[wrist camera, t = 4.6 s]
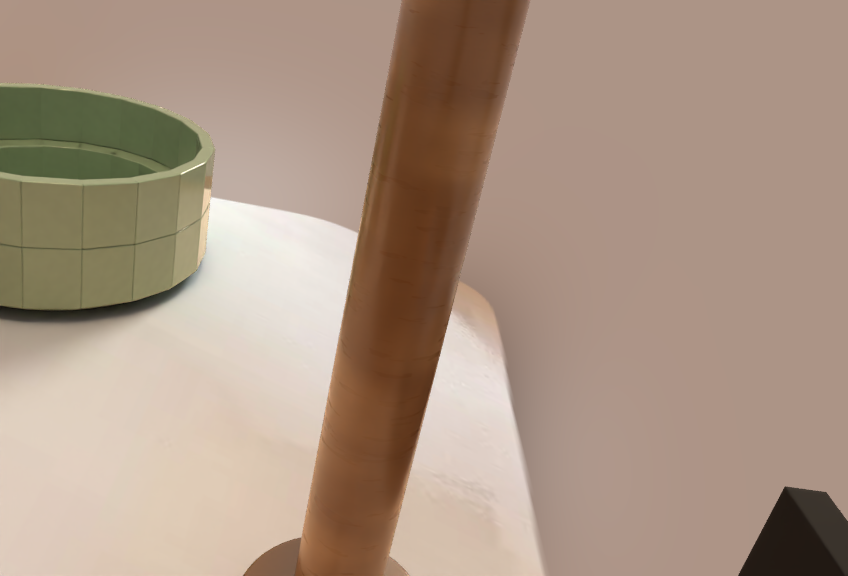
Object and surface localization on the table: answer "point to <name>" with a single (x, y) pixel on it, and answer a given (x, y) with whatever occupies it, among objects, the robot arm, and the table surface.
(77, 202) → the bowl
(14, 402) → the table surface
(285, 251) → the table surface
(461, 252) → the brown rod with base
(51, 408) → the table surface
